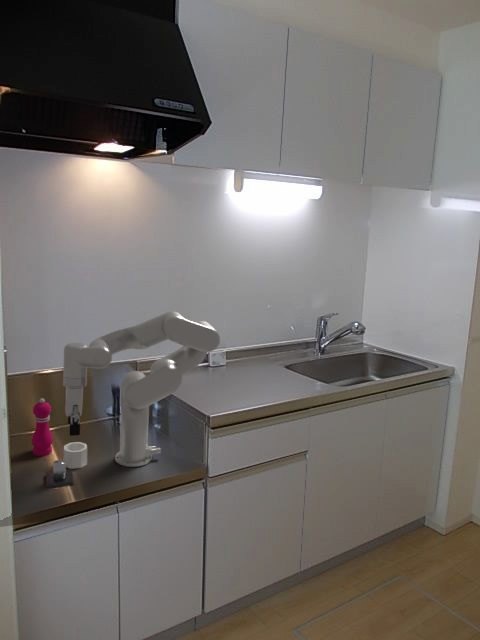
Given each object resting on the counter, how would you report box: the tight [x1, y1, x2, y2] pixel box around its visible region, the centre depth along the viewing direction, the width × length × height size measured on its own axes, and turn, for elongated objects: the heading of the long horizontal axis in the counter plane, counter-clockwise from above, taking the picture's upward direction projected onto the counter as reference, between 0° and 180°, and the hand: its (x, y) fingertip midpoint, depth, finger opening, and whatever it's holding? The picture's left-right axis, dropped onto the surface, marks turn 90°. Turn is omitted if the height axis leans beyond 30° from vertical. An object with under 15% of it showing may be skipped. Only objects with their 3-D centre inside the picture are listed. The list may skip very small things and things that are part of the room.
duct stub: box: [45, 459, 74, 488], centre depth 175 cm, size 8×8×6 cm
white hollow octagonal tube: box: [63, 441, 88, 470], centre depth 187 cm, size 7×7×6 cm
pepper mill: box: [30, 397, 54, 457], centre depth 192 cm, size 7×7×20 cm
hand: (73, 429), depth 185 cm, fingers open, 9 cm apart
